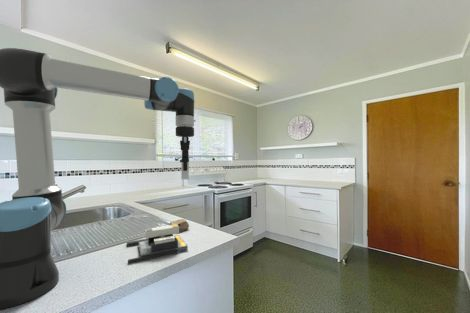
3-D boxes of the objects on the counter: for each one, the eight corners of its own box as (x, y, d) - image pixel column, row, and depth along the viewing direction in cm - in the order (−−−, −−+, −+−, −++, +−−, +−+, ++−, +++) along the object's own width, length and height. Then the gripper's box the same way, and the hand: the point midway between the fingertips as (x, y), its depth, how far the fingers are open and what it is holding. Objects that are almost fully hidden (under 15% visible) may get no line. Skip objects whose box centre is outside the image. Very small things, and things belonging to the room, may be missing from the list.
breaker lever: (145, 238, 78) (145, 231, 78) (145, 235, 81) (145, 228, 81) (179, 232, 84) (179, 226, 84) (177, 230, 87) (177, 223, 87)
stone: (172, 233, 98) (172, 223, 99) (168, 227, 108) (168, 218, 108) (190, 230, 102) (190, 221, 102) (185, 224, 112) (185, 216, 112)
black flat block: (141, 259, 73) (141, 244, 73) (138, 246, 84) (138, 232, 84) (187, 250, 80) (187, 236, 80) (179, 238, 92) (179, 226, 92)
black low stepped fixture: (127, 263, 70) (127, 260, 70) (126, 244, 86) (126, 241, 86) (182, 252, 78) (182, 249, 78) (172, 236, 94) (172, 234, 94)
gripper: (195, 122, 78) (195, 180, 78) (192, 131, 103) (192, 175, 102) (174, 121, 77) (174, 180, 76) (176, 130, 101) (176, 175, 101)
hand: (184, 177), depth 89 cm, fingers open, 13 cm apart
